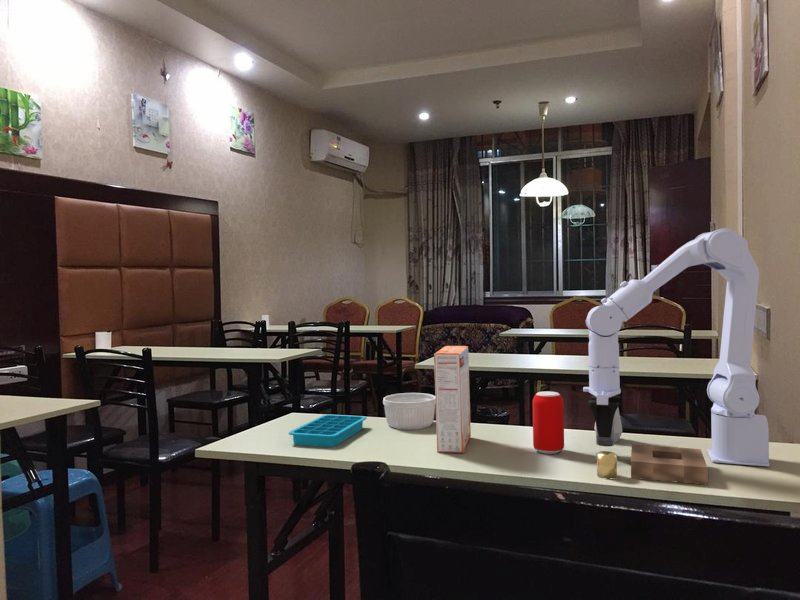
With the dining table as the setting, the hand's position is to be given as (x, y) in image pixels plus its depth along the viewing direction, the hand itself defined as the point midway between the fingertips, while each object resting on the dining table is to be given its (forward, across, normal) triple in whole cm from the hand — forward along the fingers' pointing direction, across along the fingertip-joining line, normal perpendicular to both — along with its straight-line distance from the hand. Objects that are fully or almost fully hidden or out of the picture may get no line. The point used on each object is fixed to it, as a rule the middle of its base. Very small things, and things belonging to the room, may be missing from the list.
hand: (605, 434), depth 118 cm
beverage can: (+4, 0, -11) cm, 12 cm away
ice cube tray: (+5, +2, -61) cm, 61 cm away
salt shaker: (+4, -13, 0) cm, 14 cm away
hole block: (+4, +7, +11) cm, 14 cm away
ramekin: (+4, -14, -47) cm, 49 cm away
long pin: (+2, 0, 0) cm, 2 cm away
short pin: (+4, +13, +1) cm, 14 cm away
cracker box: (+4, +1, -31) cm, 31 cm away
